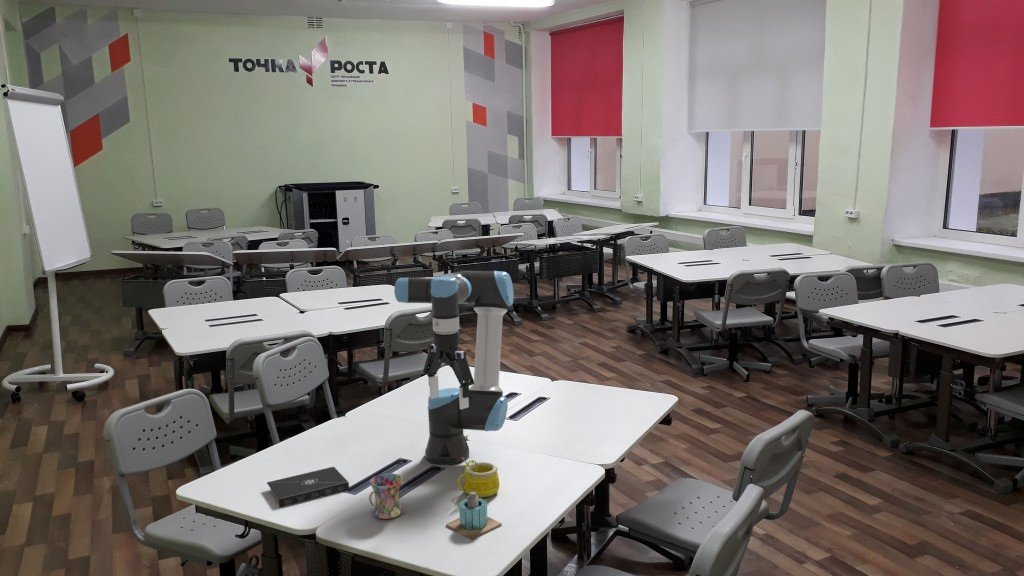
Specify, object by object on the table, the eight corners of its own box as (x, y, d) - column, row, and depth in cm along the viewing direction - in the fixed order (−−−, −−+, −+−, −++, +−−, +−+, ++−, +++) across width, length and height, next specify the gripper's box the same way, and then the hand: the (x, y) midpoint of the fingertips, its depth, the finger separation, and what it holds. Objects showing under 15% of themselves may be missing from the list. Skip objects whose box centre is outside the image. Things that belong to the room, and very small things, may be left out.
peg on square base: (446, 525, 214) (444, 493, 212) (475, 512, 222) (474, 481, 220) (471, 539, 206) (470, 506, 205) (501, 525, 214) (500, 493, 212)
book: (279, 509, 228) (279, 500, 227) (267, 491, 240) (266, 482, 240) (349, 491, 239) (349, 482, 238) (334, 474, 251) (333, 466, 251)
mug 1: (386, 504, 228) (384, 470, 226) (410, 511, 224) (408, 476, 222) (358, 521, 218) (356, 486, 216) (383, 528, 214) (381, 493, 212)
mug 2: (496, 482, 241) (495, 446, 239) (502, 498, 231) (501, 460, 228) (456, 486, 239) (454, 450, 237) (460, 502, 229) (458, 464, 226)
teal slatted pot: (454, 523, 214) (454, 503, 213) (475, 514, 219) (474, 495, 218) (472, 533, 209) (471, 512, 208) (492, 523, 214) (492, 503, 213)
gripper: (409, 327, 224) (412, 396, 227) (464, 340, 206) (467, 416, 210) (429, 322, 229) (432, 390, 232) (485, 335, 211) (487, 409, 215)
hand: (449, 402), depth 221 cm, fingers open, 13 cm apart
